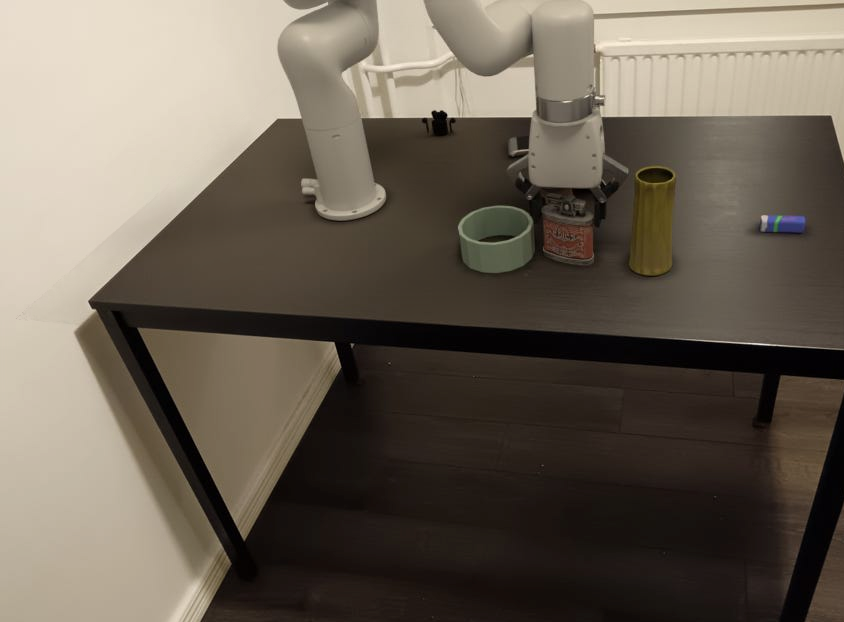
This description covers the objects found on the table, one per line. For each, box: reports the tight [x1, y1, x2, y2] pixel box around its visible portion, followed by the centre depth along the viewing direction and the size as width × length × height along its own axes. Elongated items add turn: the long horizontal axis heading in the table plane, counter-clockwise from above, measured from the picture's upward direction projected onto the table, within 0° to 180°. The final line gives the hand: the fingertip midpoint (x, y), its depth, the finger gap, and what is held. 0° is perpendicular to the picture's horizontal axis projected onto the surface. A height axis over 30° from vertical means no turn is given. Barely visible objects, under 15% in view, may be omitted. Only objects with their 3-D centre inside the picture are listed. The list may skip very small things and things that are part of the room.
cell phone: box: [507, 135, 530, 158], centre depth 142 cm, size 6×11×1 cm, turn 89°
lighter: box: [541, 193, 595, 266], centre depth 110 cm, size 8×3×10 cm, turn 58°
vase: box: [628, 165, 677, 277], centre depth 105 cm, size 6×6×14 cm
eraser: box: [759, 214, 806, 234], centre depth 112 cm, size 2×6×2 cm, turn 73°
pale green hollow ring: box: [457, 205, 536, 274], centre depth 115 cm, size 11×11×5 cm
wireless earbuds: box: [421, 109, 457, 136], centre depth 151 cm, size 7×2×5 cm, turn 75°
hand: (567, 221), depth 109 cm, fingers open, 8 cm apart
